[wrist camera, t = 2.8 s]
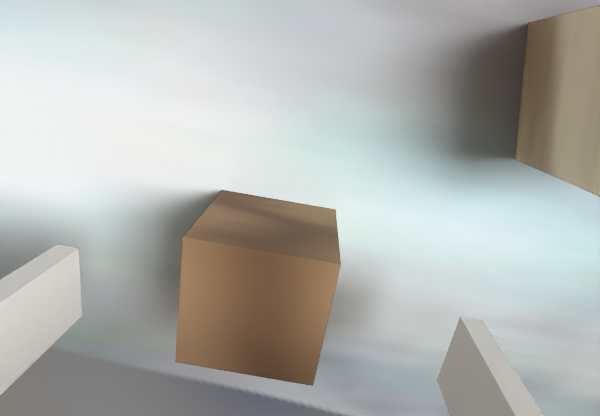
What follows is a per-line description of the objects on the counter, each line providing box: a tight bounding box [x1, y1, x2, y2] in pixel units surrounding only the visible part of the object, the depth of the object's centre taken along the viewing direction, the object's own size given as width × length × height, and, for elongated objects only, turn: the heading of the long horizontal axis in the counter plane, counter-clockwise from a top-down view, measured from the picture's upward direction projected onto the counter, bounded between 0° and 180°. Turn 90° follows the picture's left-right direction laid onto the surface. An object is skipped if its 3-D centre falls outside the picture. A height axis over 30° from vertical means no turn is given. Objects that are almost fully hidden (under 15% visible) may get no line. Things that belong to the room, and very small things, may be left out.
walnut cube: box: [176, 190, 341, 386], centre depth 15 cm, size 5×5×5 cm
